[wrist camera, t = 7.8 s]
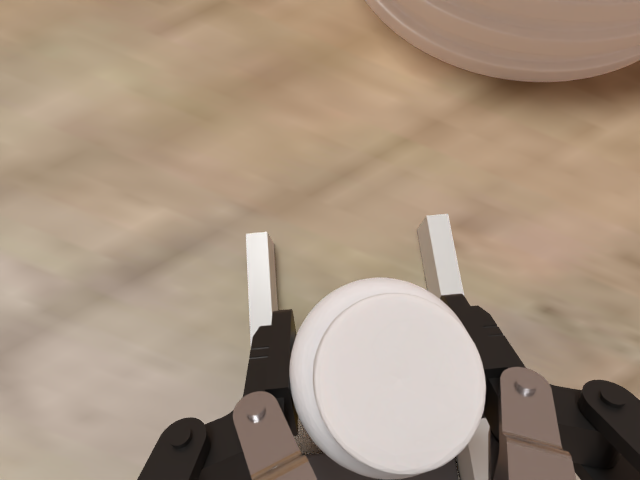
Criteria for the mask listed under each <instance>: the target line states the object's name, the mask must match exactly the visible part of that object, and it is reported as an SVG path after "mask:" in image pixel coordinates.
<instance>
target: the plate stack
mask: <svg viewBox="0 0 640 480" xmlns="http://www.w3.org/2000/svg"><path fill="white" fill-rule="evenodd" d="M365 1H366V3H367V4H368V5H369V7H370V8H371V9H372V10H373V11H374V13H375V14H376V15H377V16H378V17H379V18H380V19H381V20H382V21H383V22H384V23H385V24H386V25H387V26H388V27H389V28H390V29H392V30H393V31H394V32H395V33H396V34H398V35H399V36H400V37H402V38H403V39H404V40H406V41H407V42H409V43H410V44H412V45H413V46H415V47H416V48H418V49H420V50H422V51H423V52H425V53H427V54H429V55H431V56H433V57H435V58H437V59H439V60H441V61H443V62H446V63H448V64H450V65H453V66H456V67H458V68H461V69H464V70H467V71H471V72H474V73H478V74H482V75H486V76H490V77H495V78H501V79H507V80H515V81H526V82H560V81H571V80H578V79H584V78H590V77H594V76H598V75H602V74H606V73H609V72H612V71H615V70H618V69H621V68H624V67H626V66H628V65H631V64H633V63H635V62H637V61H639V60H640V0H365Z"/></svg>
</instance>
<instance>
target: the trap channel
mask: <svg viewBox="0 0 640 480" xmlns="http://www.w3.org/2000/svg"><path fill="white" fill-rule="evenodd" d="M417 233H418V239H419V244H420V250H421V256H422V262H423V268H424V273H425V279H426V285H427V291H429V292H431V293H432V294H434V295H435V296H437V297H438V298H439V299H440V297H441V295H450V294H460V293H461V294H463V295H464V292H463V287H462V282H461V277H460V272H459V267H458V262H457V257H456V252H455V247H454V242H453V237H452V232H451V227H450V222H449V217H448V214H440V215H430V216H426V217H425V219H424V220H423V221H422V223H421V224H420V225H419V227H418V228H417ZM246 247H247V270H248V294H249V317H250V340H251V344H252V338H253V335H254V334H255V332H256V331H257V330H258V328H259V327H260V326H266V325H271V322H272V313H273V311H278V301H277V285H276V269H275V253H274V243H273V241H272V239H271V238H270V236H269V234H268V232H261V233H251V234H246ZM489 427H490V426H489V424H488V421H487V419H486V418H482V419H481V421H480V424H479V426H478V428H477V430H476V432H475V434H474V436H473V437H472V439H471V440H470V442H469V443H468V444H467V446H466V447H465V448H464V449H463V450H462V451H461V452H460V453H459V454H458V455H457V456H456V458H457V464H458V470H459V475H460V480H488V431H489ZM305 456H306V457H307V459H308V461H309V463H310V465H311V467H312V469H313V472H314V474H315V476H316V478H317V480H383V479H376V478H371V477H366V476H363V475H360V474H357V473H355V472H353V471H350V470H348V469H346V468H344V467H342V466H341V465H339V464H338V463H336V462H335V461H333V460H332V459H331V458H329V457H328V456H327V455H326V454H325V453H321V454H310V455H305ZM391 480H458V474H457V469H456V463H455V458H453V459H452V460H451V461H449V462H448V463H446V464H445V465H443V466H441V467H439V468H437V469H435V470H431V471H428V472H425V473H422V474H419V475H416V476H413V477H408V478H403V479H391Z"/></svg>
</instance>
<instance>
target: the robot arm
mask: <svg viewBox="0 0 640 480" xmlns="http://www.w3.org/2000/svg"><path fill="white" fill-rule="evenodd" d="M440 300H442V301H443V302H444V303H445V304H446V305H447V306H448V307H449V308H450V309H451V310H452V311H453V312H454V313H455V314H456V316H457V317H458V318H459V320H460V321H461V322H462V324H463V325H464V327H465V329H466V330H467V332H468V334H469V335H470V337H471V339H472V340H473V342H474V343H475V346H476V348H477V350H478V352H479V355H480V358H481V361H482V364H483V369H484V374H485V381H486V395H485V405H484V411H483V414H482V418H486V419H487V421H488V424H489V426H490V427H489V431H488V480H576V476H575V473H576V474H577V475H578V476H579V478H580V479H581V480H640V400H639V399H637V398H636V397H635V396H634V395H633V394H632V393H630V392H629V391H628V390H626V389H625V388H623V387H621V386H619V385H617V384H615V383H612V382H609V381H604V380H592V381H589V382H587V383H586V384H585V385H584V386H583V389H582V390H576V389H570V388H564V387H559V386H554V385H551V384H549V383H548V382H547V380H546V379H545V378H544V377H542V376H541V375H540V374H538V373H537V372H535V371H533V370H530V369H527V368H526V367H525V366H524V364H523V363H522V361H521V360H520V358H519V357H518V355H517V354H516V352H515V351H514V349H513V348H512V346H511V345H510V344H509V342H508V341H507V339H506V338H505V336H503V333H502V332H501V330H500V329H499V327H497V324H496V323H495V321H494V320H493V318H492V317H491V315H490V314H489V313H487V312H486V311H485V310H483V309H482V308H481V307H479V306H470V305H469V303H468V301H467V300H466V298H465V297H464V295H463V294H461V293H460V294H450V295H441V297H440ZM295 338H296V329H295V323H294V316H293V311H292V309H289V310H279V311H273V313H272V322H271V325H266V326H260V327H259V328H258V330H257V331H256V332H255V334H254V335H253V338H252V344H251V351H250V359H249V363H248V370H247V376H246V382H245V389H244V394H243V398H242V399H241V400H240V401H239V402H238V403H237V405H236V406H235V408H234V410H233V411H232V412H231V413H229V414H228V415H226V416H224V417H222V418H220V419H217V420H215V421H212V422H210V423H207V424H205V425H204V423H203V422H202V421H201V420H199V419H196V418H184V419H181V420H178V421H176V422H174V423H173V424H171V425H170V426H169V427H168V428H167V429H166V430H165V431H164V432H163V433H162V434H161V436H160V438H159V440H158V442H157V443H156V445H155V447H154V449H153V451H152V453H151V455H150V457H149V459H148V460H147V462H146V464H145V466H144V468H143V470H142V472H141V474H140V476H139V477H138V479H137V480H317V478H316V476H315V474H314V472H313V469H312V467H311V465H310V463H309V461H308V459H307V457H306V456H305V454H302V453H301V451H300V449H299V447H298V445H297V443H296V441H295V439H294V436H295V435H298V414H297V412H296V409H295V406H294V402H293V398H292V394H291V388H290V377H289V368H290V358H291V352H292V348H293V344H294V341H295ZM482 418H481V419H482Z"/></svg>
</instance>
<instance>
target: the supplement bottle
mask: <svg viewBox="0 0 640 480" xmlns="http://www.w3.org/2000/svg"><path fill="white" fill-rule="evenodd" d="M289 377H290V388H291V394H292V398H293V402H294V406H295V409H296V412H297V414H298V417H299V419H300V421H301V423H302V425H303V427H304V428H305V430H306V432H307V433H308V435H309V436H310V438H311V439H312V440H313V442H314V443H315V444H316V445H317V446H318V447H319V448H320V449H321V450H322V451H323V452H324V453H325V454H326V455H327V456H328V457H329V458H331V459H332V460H333V461H335V462H336V463H338V464H339V465H341V466H342V467H344V468H346V469H348V470H350V471H353V472H355V473H357V474H360V475H363V476H366V477H371V478H376V479H383V480H391V479H403V478H408V477H413V476H416V475H419V474H422V473H425V472H428V471H431V470H435V469H437V468H439V467H441V466H443V465H445V464H446V463H448V462H449V461H451V460H452V459H453V458H455V457H456V456H457V455H458V454H459V453H460V452H461V451H462V450H463V449H464V448H465V447H466V446H467V444H468V443H469V442H470V440H471V439H472V437H473V436H474V434H475V432H476V430H477V428H478V426H479V424H480V421H481V418H482V414H483V411H484V405H485V395H486V381H485V374H484V369H483V364H482V361H481V358H480V355H479V352H478V350H477V348H476V346H475V343H474V342H473V340H472V339H471V337H470V335H469V334H468V332H467V330H466V329H465V327H464V325H463V324H462V322H461V321H460V320H459V318H458V317H457V316H456V314H455V313H454V312H453V311H452V310H451V309H450V308H449V307H448V306H447V305H446V304H445V303H444V302H443V301H442V300H440V299H439V298H438V297H437V296H435V295H434V294H432V293H431V292H429V291H427V290H426V289H424V288H422V287H420V286H417V285H415V284H412V283H410V282H407V281H403V280H399V279H392V278H368V279H362V280H358V281H354V282H351V283H348V284H346V285H343V286H341V287H339V288H337V289H336V290H334V291H332V292H331V293H329V294H328V295H327V296H325V297H324V298H323V299H322V300H321V301H320V302H318V303H317V304H316V305H315V307H314V308H313V309H312V310H311V311H310V313H309V314H308V315H307V317H306V318H305V320H304V321H303V323H302V325H301V327H300V329H299V331H298V333H297V335H296V338H295V341H294V344H293V348H292V352H291V358H290V368H289Z"/></svg>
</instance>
